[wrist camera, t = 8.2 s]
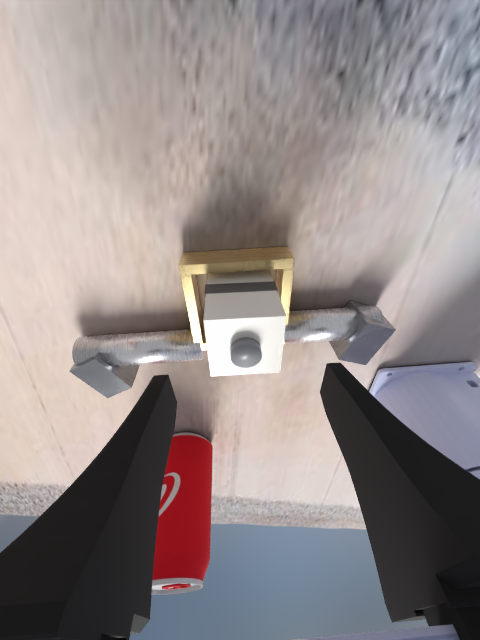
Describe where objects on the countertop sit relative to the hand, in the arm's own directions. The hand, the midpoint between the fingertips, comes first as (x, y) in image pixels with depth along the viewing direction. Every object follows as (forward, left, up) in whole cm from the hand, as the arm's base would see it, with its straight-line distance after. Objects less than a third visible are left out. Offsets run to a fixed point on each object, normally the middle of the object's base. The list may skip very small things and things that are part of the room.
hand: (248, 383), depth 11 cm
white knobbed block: (0, 0, -8) cm, 8 cm away
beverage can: (+7, +20, -8) cm, 23 cm away
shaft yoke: (+1, +2, -8) cm, 8 cm away
